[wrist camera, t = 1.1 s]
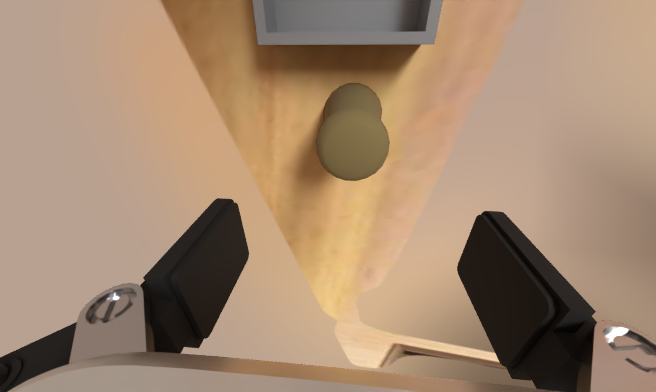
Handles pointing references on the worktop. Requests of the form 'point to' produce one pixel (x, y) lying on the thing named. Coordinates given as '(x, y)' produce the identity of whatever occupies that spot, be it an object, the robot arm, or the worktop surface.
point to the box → (346, 22)
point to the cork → (352, 133)
